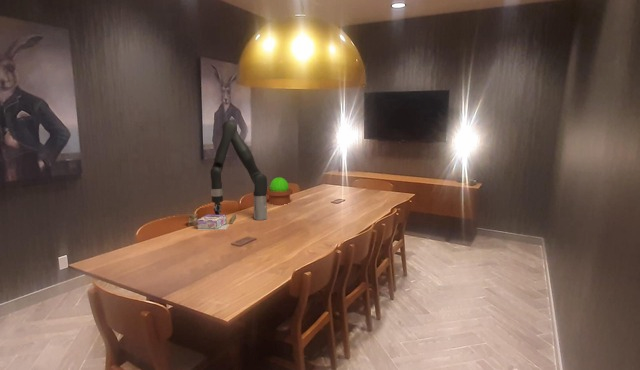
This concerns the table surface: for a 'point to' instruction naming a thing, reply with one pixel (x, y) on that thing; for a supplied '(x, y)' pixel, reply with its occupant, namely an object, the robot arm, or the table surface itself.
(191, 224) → the offcut stack
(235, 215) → the rack
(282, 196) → the potted cactus
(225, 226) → the mat
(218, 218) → the candy box
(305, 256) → the table surface
